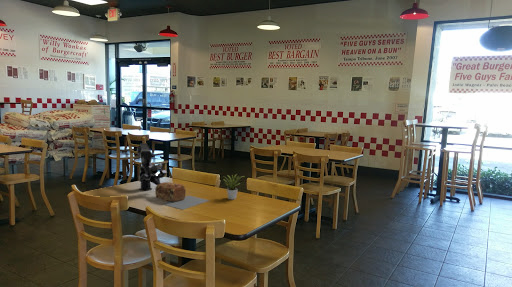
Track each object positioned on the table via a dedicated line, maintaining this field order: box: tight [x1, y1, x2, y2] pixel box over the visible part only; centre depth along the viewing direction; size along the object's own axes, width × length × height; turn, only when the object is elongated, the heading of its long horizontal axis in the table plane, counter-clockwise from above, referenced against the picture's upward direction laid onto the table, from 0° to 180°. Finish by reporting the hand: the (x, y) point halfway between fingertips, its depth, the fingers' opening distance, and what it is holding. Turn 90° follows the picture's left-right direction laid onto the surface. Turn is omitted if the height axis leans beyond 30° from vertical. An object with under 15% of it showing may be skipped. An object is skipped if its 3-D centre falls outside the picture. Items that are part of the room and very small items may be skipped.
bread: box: [154, 181, 187, 202], centre depth 231 cm, size 19×11×10 cm, turn 50°
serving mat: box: [161, 195, 210, 211], centre depth 225 cm, size 18×24×1 cm
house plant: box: [222, 173, 245, 200], centre depth 237 cm, size 14×14×16 cm
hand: (159, 186), depth 236 cm, fingers closed
